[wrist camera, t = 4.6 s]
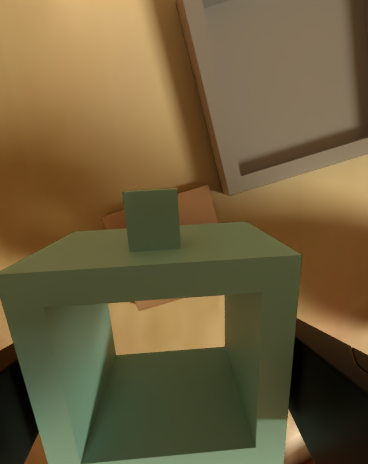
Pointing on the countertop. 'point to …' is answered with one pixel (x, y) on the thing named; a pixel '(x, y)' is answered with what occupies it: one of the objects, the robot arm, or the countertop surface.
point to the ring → (157, 363)
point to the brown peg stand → (190, 212)
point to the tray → (279, 84)
